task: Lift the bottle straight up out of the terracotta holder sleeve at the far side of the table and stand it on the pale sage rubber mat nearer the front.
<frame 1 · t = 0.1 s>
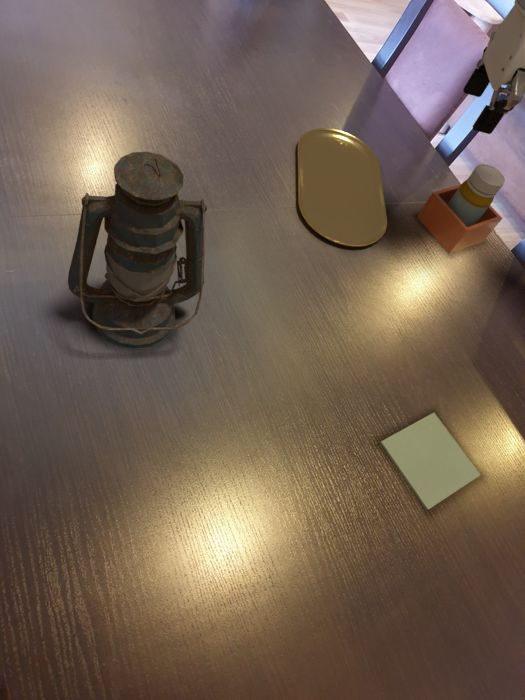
hand: (476, 111, 90), 30 cm above the table, tool pointing down, fingers open, 9 cm apart
mat: (429, 459, 89), on the table
serving platter: (338, 188, 119), on the table
bottle: (449, 229, 121), resting in holder
holder: (450, 229, 121), on the table
lantern: (134, 320, 89), on the table
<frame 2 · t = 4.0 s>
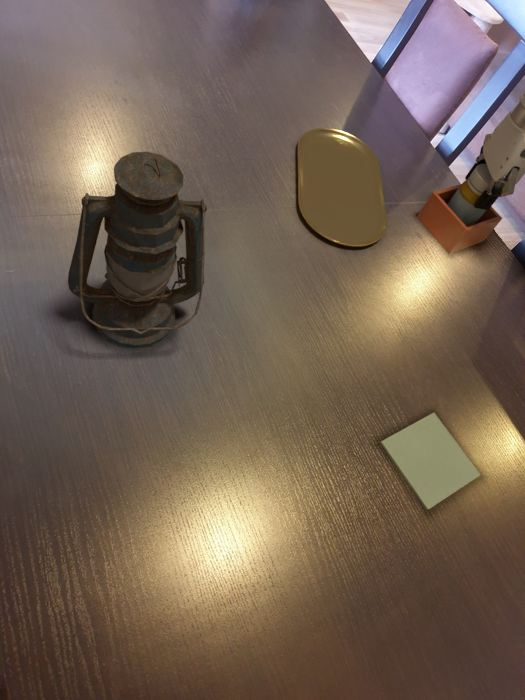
hand: (476, 193, 112), 10 cm above the table, tool pointing down, fingers closed on bottle, 7 cm apart
bottle: (449, 229, 121), resting in holder, touching gripper
everything else where it was.
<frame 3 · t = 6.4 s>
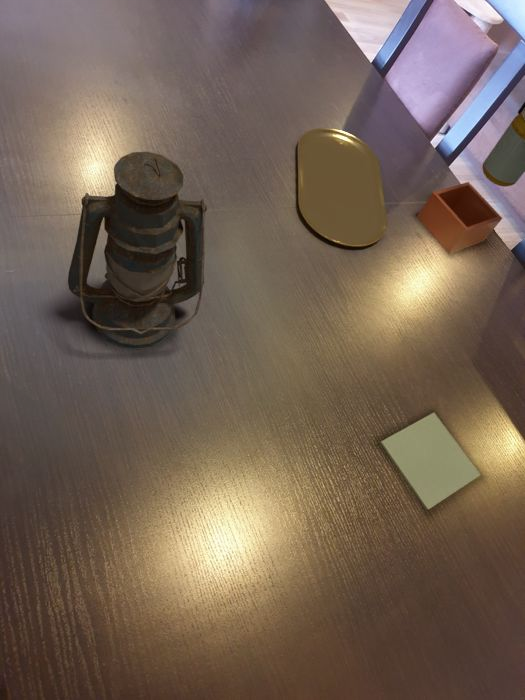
bottle: (497, 176, 106), point 17 cm above the table, touching gripper
everything else where it was.
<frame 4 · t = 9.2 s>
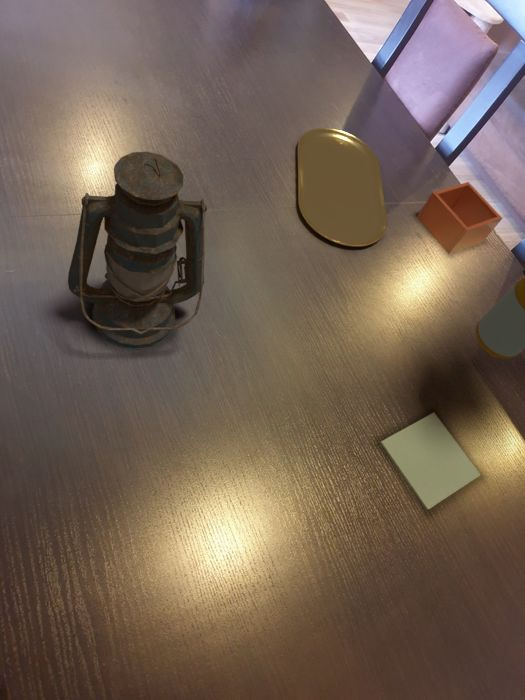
bottle: (494, 341, 82), point 17 cm above the table, touching gripper
everything else where it was.
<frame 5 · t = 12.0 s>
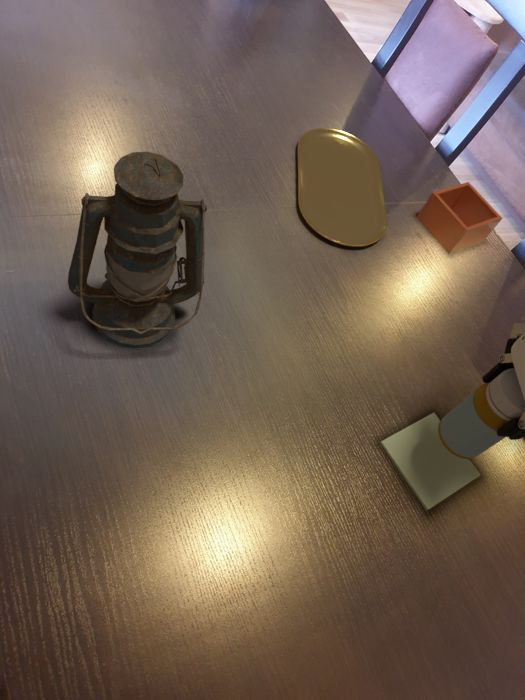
hand: (499, 406, 74), 19 cm above the table, tool pointing down, fingers closed on bottle, 7 cm apart
bottle: (457, 438, 82), point 8 cm above the table, touching gripper
everything else where it was.
when the fingers open (11 cm above the table, at t = 14.4 s): bottle stays where it is, resting on mat.
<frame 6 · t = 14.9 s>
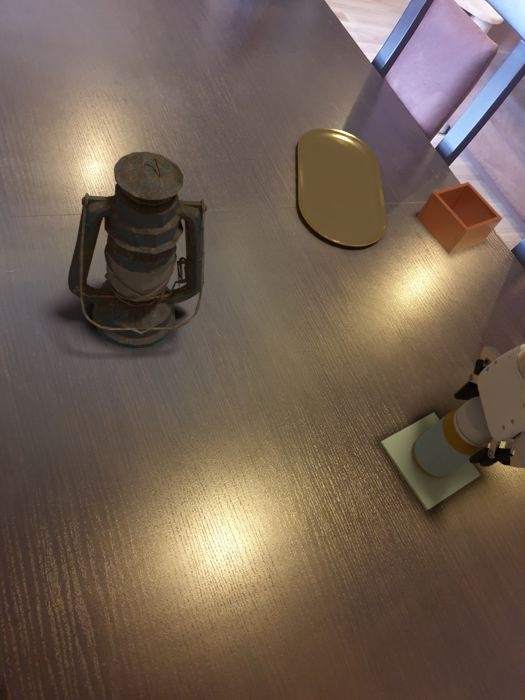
hand: (470, 428, 79), 12 cm above the table, tool pointing down, fingers open, 9 cm apart
bottle: (430, 458, 89), resting on mat
everything else where it was.
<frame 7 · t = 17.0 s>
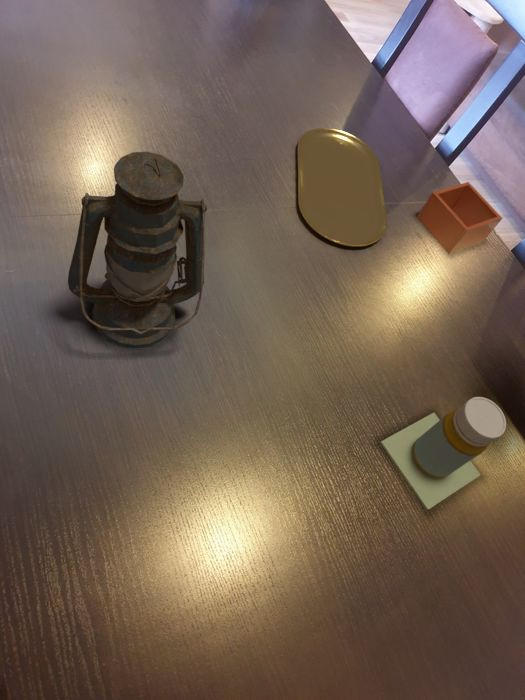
nothing on the table moved.
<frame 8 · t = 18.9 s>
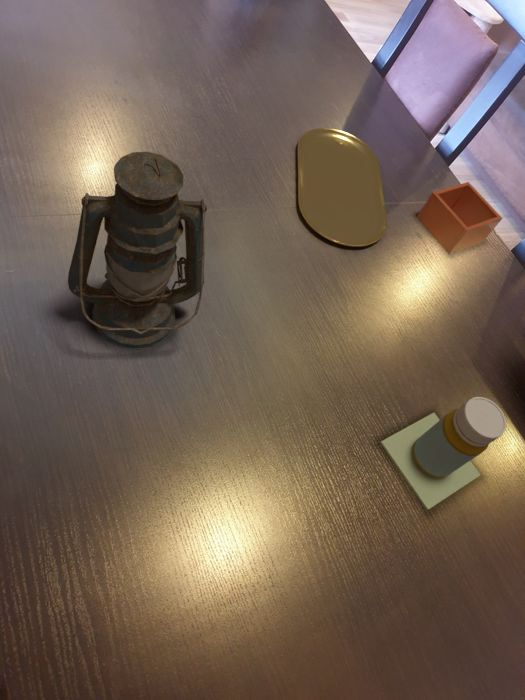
nothing on the table moved.
at the end: bottle inside the target area on the mat (0.1 cm from its centre), point 0.4 cm above the mat's base; bottle tilted 0°; the gripper is holding nothing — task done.
